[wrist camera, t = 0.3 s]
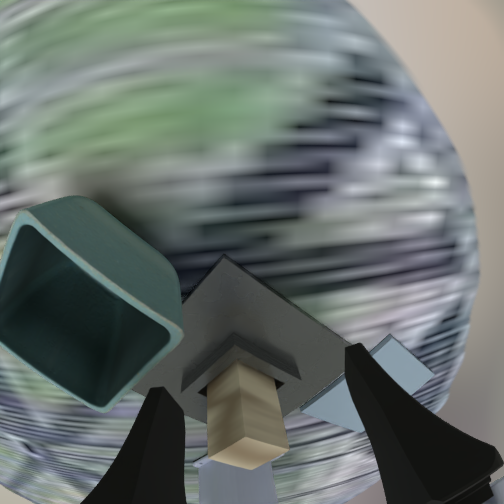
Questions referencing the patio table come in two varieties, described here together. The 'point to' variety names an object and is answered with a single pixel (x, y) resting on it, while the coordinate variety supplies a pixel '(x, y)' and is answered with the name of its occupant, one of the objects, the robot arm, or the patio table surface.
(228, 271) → the socket base
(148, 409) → the robot arm
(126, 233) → the flower pot
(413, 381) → the board
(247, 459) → the peg
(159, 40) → the patio table surface
